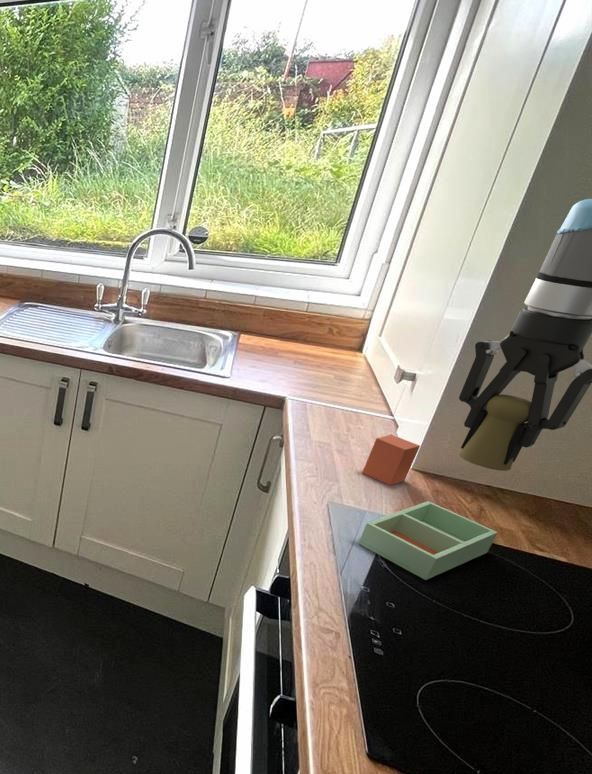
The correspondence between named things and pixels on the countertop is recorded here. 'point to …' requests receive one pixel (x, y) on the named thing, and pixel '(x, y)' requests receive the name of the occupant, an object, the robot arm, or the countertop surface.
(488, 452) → the cork
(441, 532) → the sorting tray
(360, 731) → the countertop surface
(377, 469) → the terracotta block
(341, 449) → the countertop surface
